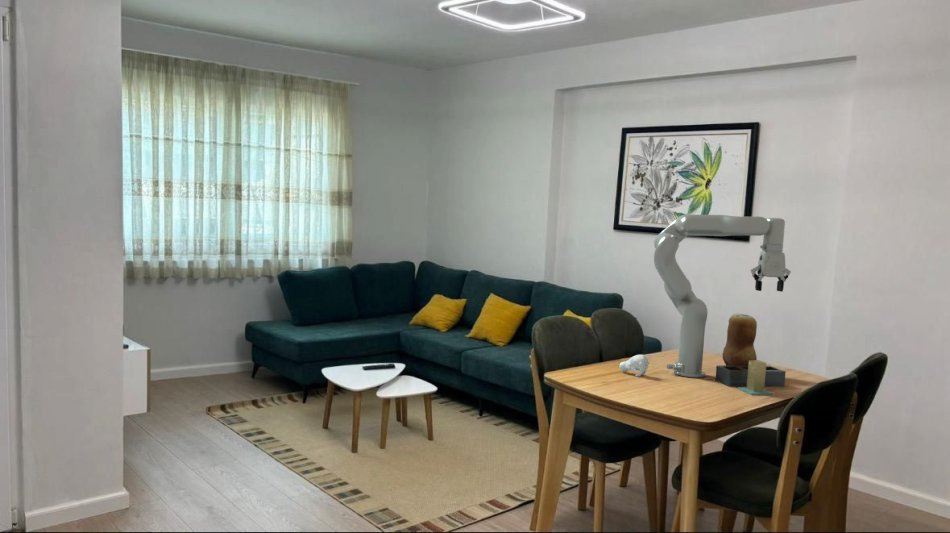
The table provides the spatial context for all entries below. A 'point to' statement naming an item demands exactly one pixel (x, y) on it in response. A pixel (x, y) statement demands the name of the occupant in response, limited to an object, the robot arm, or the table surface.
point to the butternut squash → (740, 340)
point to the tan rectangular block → (756, 375)
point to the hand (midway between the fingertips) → (769, 290)
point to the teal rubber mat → (754, 392)
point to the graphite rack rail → (739, 374)
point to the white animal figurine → (635, 365)
